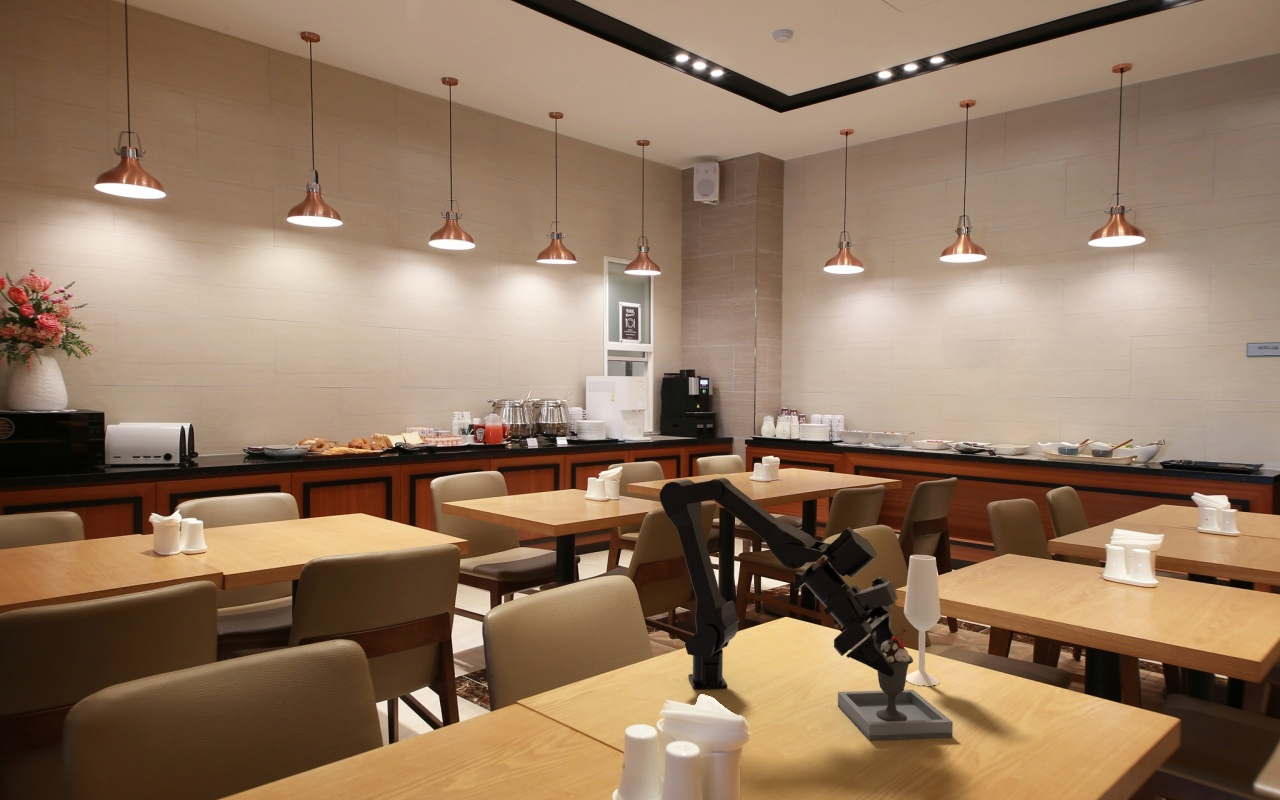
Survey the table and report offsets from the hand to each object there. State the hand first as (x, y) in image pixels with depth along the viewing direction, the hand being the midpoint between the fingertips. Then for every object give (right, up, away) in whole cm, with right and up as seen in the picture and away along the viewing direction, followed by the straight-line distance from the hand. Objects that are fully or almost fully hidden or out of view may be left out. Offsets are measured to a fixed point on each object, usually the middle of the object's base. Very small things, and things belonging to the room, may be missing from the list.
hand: (898, 666), depth 131 cm
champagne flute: (+11, -10, +20) cm, 25 cm away
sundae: (-1, -9, 0) cm, 9 cm away
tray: (-1, -9, 0) cm, 9 cm away
